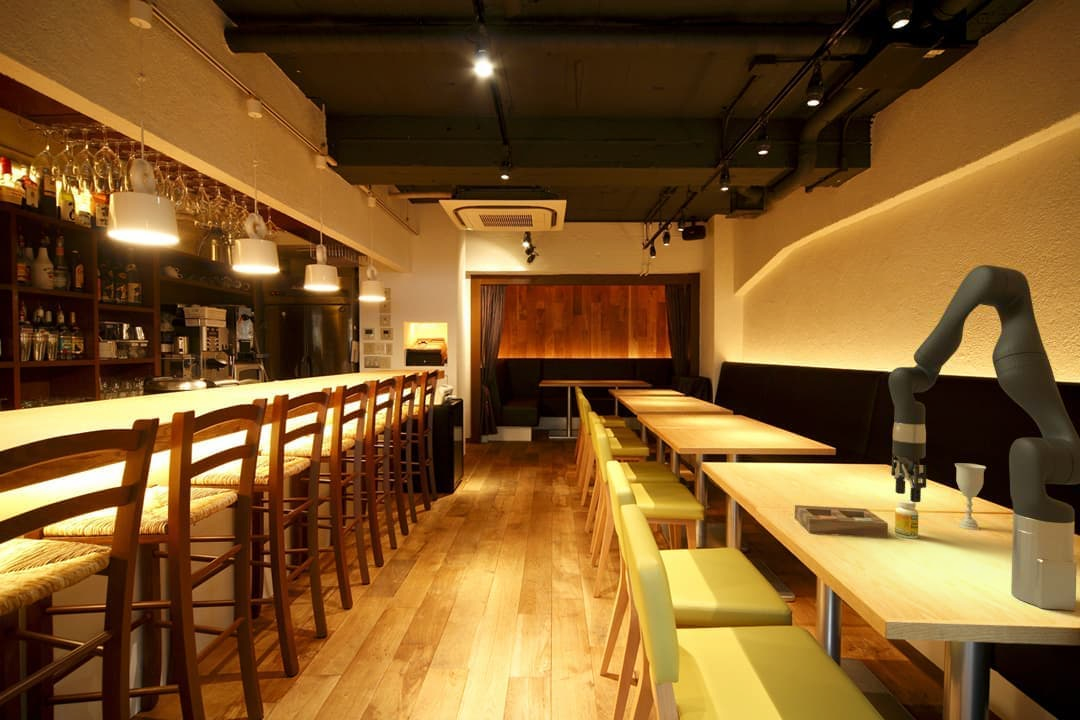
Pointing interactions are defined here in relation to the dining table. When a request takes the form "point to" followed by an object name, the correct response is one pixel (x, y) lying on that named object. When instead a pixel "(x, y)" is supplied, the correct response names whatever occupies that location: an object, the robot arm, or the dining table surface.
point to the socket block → (841, 521)
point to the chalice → (969, 489)
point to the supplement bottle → (906, 519)
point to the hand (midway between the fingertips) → (907, 497)
